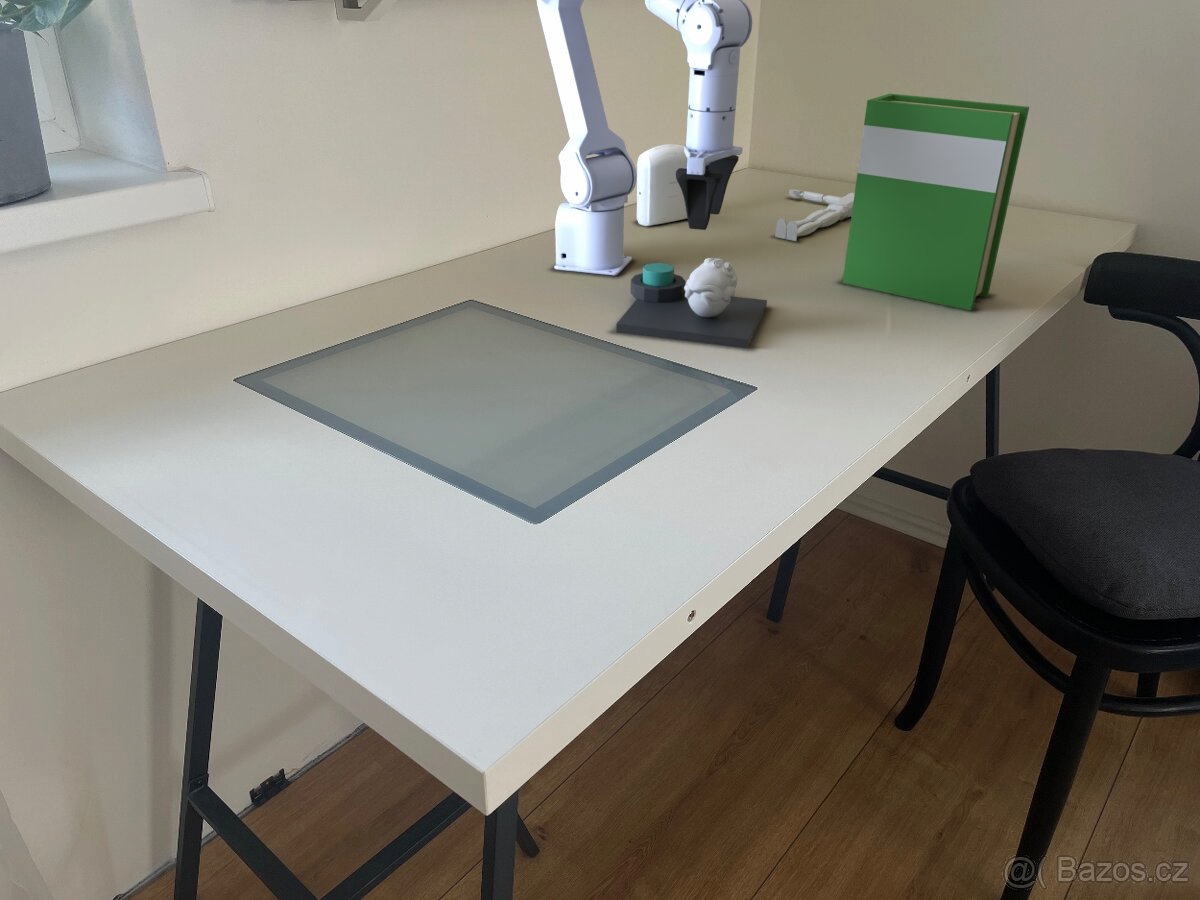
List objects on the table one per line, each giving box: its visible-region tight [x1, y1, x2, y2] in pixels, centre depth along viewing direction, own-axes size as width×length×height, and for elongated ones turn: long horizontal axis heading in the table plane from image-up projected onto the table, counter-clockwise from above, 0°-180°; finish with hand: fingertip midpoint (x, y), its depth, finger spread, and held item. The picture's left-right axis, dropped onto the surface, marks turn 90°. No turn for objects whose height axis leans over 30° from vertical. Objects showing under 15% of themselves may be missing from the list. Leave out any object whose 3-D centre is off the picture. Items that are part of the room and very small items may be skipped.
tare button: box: [642, 262, 675, 286], centre depth 119 cm, size 4×4×2 cm
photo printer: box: [636, 143, 688, 227], centre depth 153 cm, size 10×4×12 cm, turn 123°
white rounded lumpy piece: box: [684, 257, 739, 318], centre depth 112 cm, size 6×7×7 cm
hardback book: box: [842, 93, 1030, 311], centre depth 120 cm, size 18×7×24 cm, turn 53°
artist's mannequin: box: [775, 189, 855, 242], centre depth 156 cm, size 27×4×30 cm
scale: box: [615, 272, 768, 349], centre depth 116 cm, size 17×16×3 cm
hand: (704, 220), depth 118 cm, fingers open, 7 cm apart
